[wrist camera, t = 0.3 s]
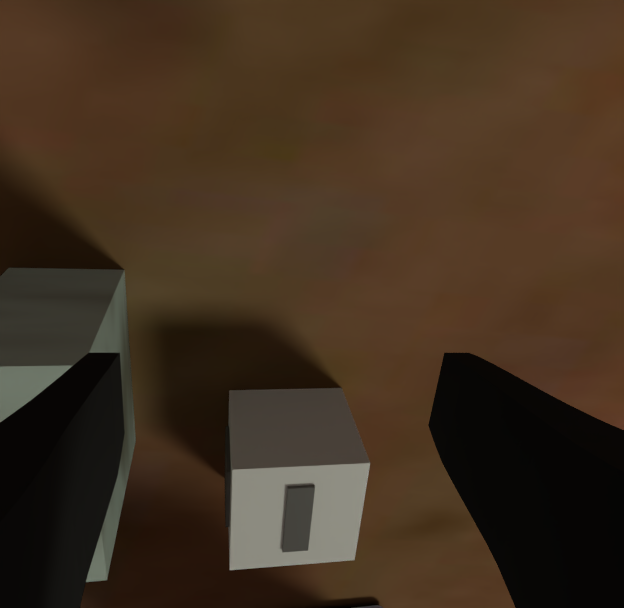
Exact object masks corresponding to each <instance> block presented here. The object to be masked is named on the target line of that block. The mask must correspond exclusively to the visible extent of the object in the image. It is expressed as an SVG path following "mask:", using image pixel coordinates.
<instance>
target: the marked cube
mask: <svg viewBox="0 0 624 608" xmlns="http://www.w3.org/2000/svg"><path fill="white" fill-rule="evenodd" d="M369 467H370V461H369V459H368V456H367V453H366V451H365V448H364V446H363V443H362V440H361V438H360V435H359V432H358V430H357V427H356V424H355V422H354V419H353V416H352V414H351V411H350V409H349V406H348V403H347V401H346V398H345V395H344V393H343V390H342V388H313V389H268V390H229V421H228V426H226V434H225V519H226V527H228V529H229V566H230V570H239V569H252V568H264V567H276V566H288V565H300V564H312V563H324V562H337V561H349V560H354V559H355V553H356V547H357V541H358V535H359V529H360V522H361V516H362V510H363V504H364V498H365V492H366V485H367V479H368V473H369Z"/></svg>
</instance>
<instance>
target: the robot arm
mask: <svg viewBox="0 0 624 608" xmlns="http://www.w3.org/2000/svg"><path fill="white" fill-rule="evenodd" d="M429 428H430V431H431V434H432V437H433V440H434V442H435V445H436V448H437V450H438V453H439V455H440V458H441V461H442V463H443V465H444V467H445V469H446V471H447V472H448V474H449V476H450V478H451V480H452V482H453V484H454V485H455V487H456V489H457V491H458V493H459V495H460V496H461V498H462V500H463V502H464V504H465V505H466V507H467V509H468V511H469V513H470V514H471V516H472V518H473V520H474V522H475V523H476V525H477V527H478V529H479V531H480V532H481V534H482V536H483V538H484V540H485V541H486V543H487V545H488V547H489V549H490V551H491V553H492V555H493V557H494V559H495V561H496V563H497V565H498V567H499V570H500V572H501V574H502V577H503V579H504V581H505V584H506V586H507V588H508V591H509V593H510V595H511V598H512V600H513V602H514V605H515V607H516V608H624V430H622V429H619V428H617V427H614V426H612V425H610V424H608V423H605V422H603V421H601V420H599V419H597V418H594V417H592V416H590V415H588V414H586V413H584V412H582V411H580V410H578V409H576V408H574V407H572V406H570V405H568V404H566V403H564V402H562V401H560V400H558V399H556V398H555V397H553V396H551V395H549V394H547V393H545V392H543V391H541V390H540V389H538V388H536V387H534V386H532V385H530V384H529V383H527V382H525V381H523V380H521V379H520V378H518V377H516V376H514V375H512V374H511V373H509V372H507V371H505V370H503V369H501V368H500V367H498V366H496V365H494V364H492V363H490V362H488V361H486V360H484V359H482V358H480V357H478V356H475V355H473V354H470V353H444V357H443V362H442V366H441V371H440V375H439V380H438V384H437V389H436V394H435V398H434V403H433V407H432V412H431V416H430V421H429ZM124 434H125V430H124V413H123V396H122V379H121V362H120V353H88V354H86V355H85V356H84V357H83V358H81V359H80V360H79V361H78V362H77V363H76V364H74V365H73V366H72V367H71V368H70V369H68V370H67V371H66V372H65V373H64V374H63V375H61V376H60V377H59V378H58V379H57V380H55V381H54V382H53V383H52V384H50V385H49V386H48V387H47V388H45V389H44V390H43V391H42V392H41V393H39V394H38V395H37V396H36V397H34V398H33V399H32V400H31V401H29V402H28V403H26V404H25V405H24V406H22V407H21V408H20V409H18V410H17V411H15V412H14V413H13V414H11V415H10V416H8V417H7V418H6V419H4V420H3V421H2V422H0V608H80V604H81V599H82V595H83V591H84V587H85V583H86V580H87V576H88V572H89V569H90V566H91V562H92V559H93V556H94V553H95V549H96V546H97V543H98V539H99V536H100V533H101V530H102V526H103V523H104V520H105V517H106V513H107V510H108V507H109V503H110V500H111V497H112V493H113V490H114V487H115V483H116V480H117V476H118V471H119V465H120V460H121V454H122V447H123V441H124ZM353 608H383V607H382V606H379V605H372V606H362V607H353Z"/></svg>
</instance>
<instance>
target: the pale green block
mask: <svg viewBox="0 0 624 608" xmlns="http://www.w3.org/2000/svg"><path fill="white" fill-rule="evenodd" d="M88 353H120V362H121V379H122V396H123V413H124V430H125V434H124V441H123V447H122V454H121V460H120V465H119V471H118V476H117V480H116V483H115V487H114V490H113V493H112V497H111V500H110V503H109V507H108V510H107V513H106V517H105V520H104V523H103V526H102V530H101V533H100V536H99V539H98V543H97V546H96V549H95V553H94V556H93V559H92V562H91V566H90V569H89V572H88V576H87V580H86V582H93V581H105V580H107V578H108V573H109V568H110V563H111V558H112V553H113V548H114V544H115V539H116V534H117V529H118V524H119V519H120V514H121V510H122V505H123V500H124V495H125V490H126V485H127V480H128V476H129V471H130V466H131V461H132V456H133V451H134V447H135V442H136V438H135V423H134V408H133V393H132V377H131V362H130V347H129V332H128V317H127V302H126V287H125V272H124V270H112V269H55V268H8V269H7V270H6V271H5V272H4V273H3V274H2V275H1V276H0V422H2V421H3V420H4V419H6V418H7V417H8V416H10V415H11V414H13V413H14V412H15V411H17V410H18V409H20V408H21V407H22V406H24V405H25V404H26V403H28V402H29V401H31V400H32V399H33V398H34V397H36V396H37V395H38V394H39V393H41V392H42V391H43V390H44V389H45V388H47V387H48V386H49V385H50V384H52V383H53V382H54V381H55V380H57V379H58V378H59V377H60V376H61V375H63V374H64V373H65V372H66V371H67V370H68V369H70V368H71V367H72V366H73V365H74V364H76V363H77V362H78V361H79V360H80V359H81V358H83V357H84V356H85V355H86V354H88Z"/></svg>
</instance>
